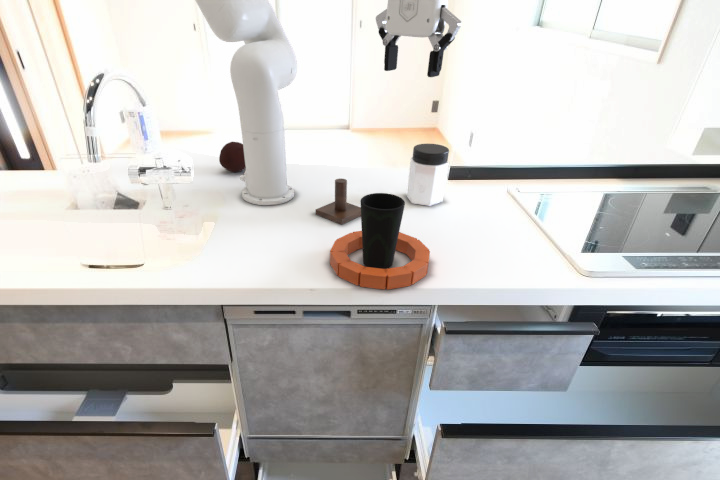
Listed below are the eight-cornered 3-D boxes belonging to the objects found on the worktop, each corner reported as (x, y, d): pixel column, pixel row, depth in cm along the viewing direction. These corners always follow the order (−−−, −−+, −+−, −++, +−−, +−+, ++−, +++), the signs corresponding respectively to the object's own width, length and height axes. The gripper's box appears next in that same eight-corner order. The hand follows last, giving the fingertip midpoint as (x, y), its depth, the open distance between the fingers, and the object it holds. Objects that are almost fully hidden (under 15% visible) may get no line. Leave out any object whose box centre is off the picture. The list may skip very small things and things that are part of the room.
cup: (395, 275, 80) (402, 211, 73) (354, 270, 81) (357, 207, 74) (400, 255, 86) (406, 195, 79) (361, 251, 87) (364, 191, 80)
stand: (315, 214, 101) (314, 180, 96) (338, 204, 106) (339, 171, 101) (342, 224, 97) (342, 189, 92) (365, 213, 102) (366, 180, 97)
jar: (402, 202, 107) (407, 150, 100) (410, 191, 113) (416, 141, 106) (439, 208, 105) (447, 155, 97) (445, 196, 111) (454, 146, 103)
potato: (259, 171, 123) (256, 142, 119) (230, 179, 118) (226, 148, 113) (242, 164, 128) (239, 135, 123) (214, 171, 123) (209, 141, 118)
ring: (311, 264, 83) (311, 251, 81) (371, 233, 94) (372, 221, 92) (389, 301, 74) (390, 287, 72) (445, 262, 84) (448, 249, 83)
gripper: (367, -47, 75) (362, 69, 86) (458, -50, 66) (440, 81, 77) (393, -45, 79) (386, 66, 90) (482, -47, 71) (462, 76, 81)
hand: (411, 73), depth 83 cm, fingers open, 9 cm apart
